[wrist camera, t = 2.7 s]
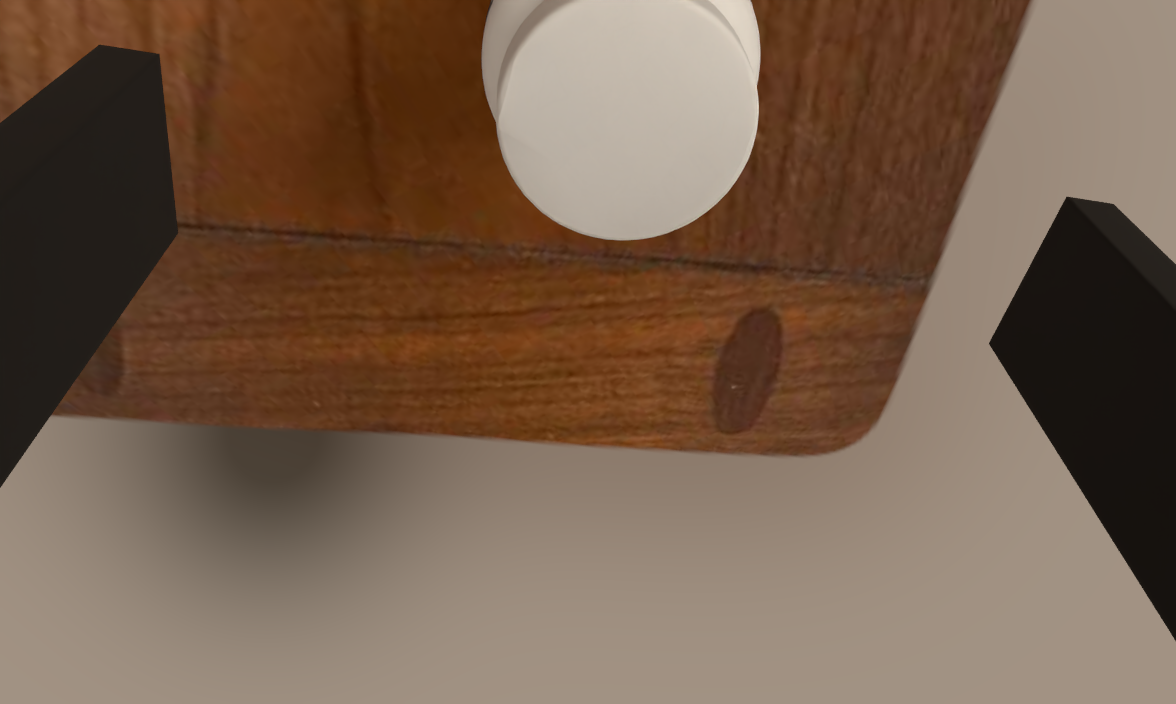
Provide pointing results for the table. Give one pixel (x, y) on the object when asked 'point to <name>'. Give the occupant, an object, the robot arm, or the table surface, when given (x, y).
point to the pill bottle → (623, 107)
